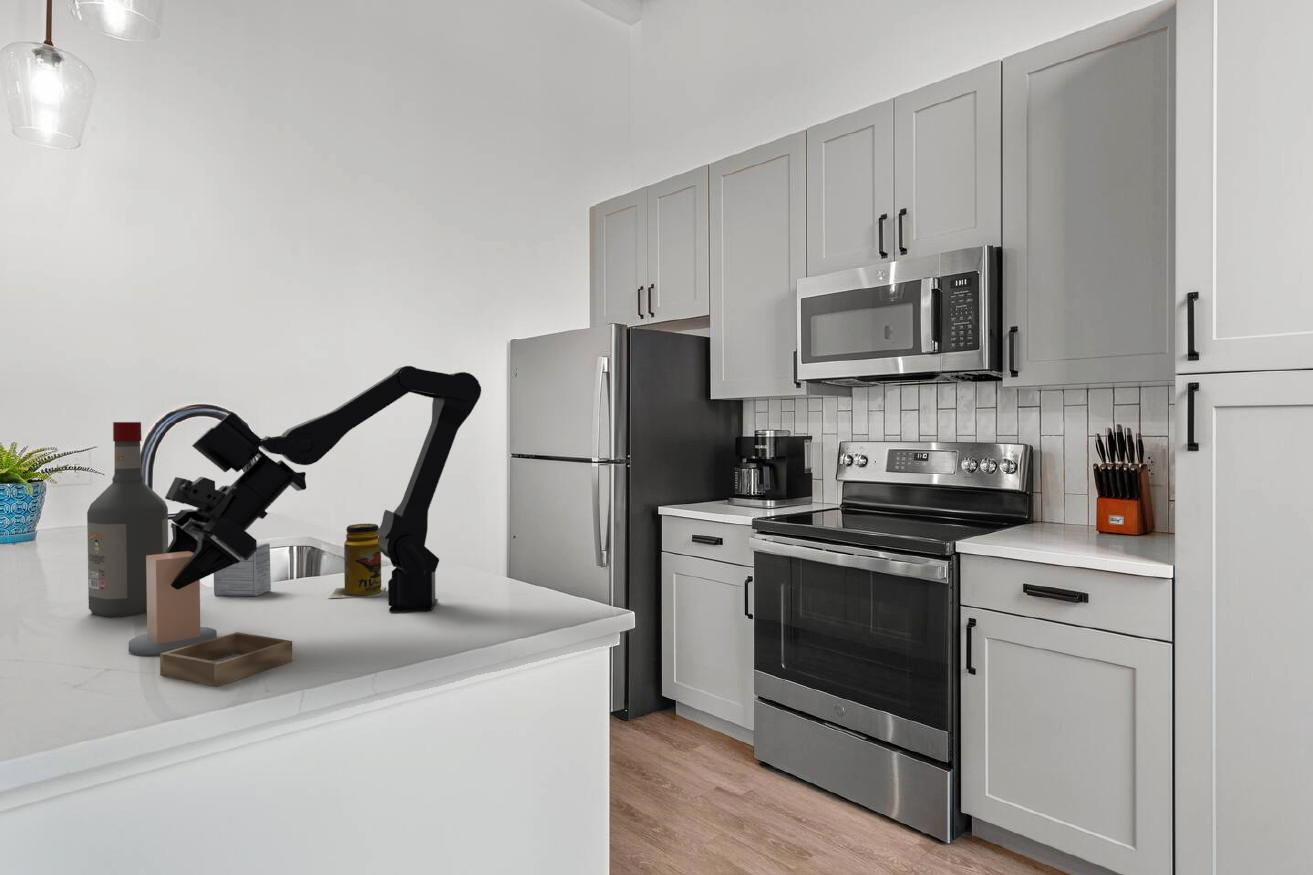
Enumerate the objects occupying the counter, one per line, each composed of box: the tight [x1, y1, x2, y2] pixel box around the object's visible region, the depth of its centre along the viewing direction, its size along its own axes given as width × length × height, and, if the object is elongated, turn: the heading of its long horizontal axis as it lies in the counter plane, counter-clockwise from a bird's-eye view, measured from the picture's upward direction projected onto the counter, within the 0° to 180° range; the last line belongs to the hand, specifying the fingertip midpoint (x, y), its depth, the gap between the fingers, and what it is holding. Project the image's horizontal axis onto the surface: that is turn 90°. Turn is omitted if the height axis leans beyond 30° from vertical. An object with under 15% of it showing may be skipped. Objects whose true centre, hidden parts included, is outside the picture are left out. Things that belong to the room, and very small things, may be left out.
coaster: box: [128, 626, 218, 656], centre depth 101 cm, size 10×10×1 cm
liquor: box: [86, 421, 169, 618], centre depth 120 cm, size 9×9×30 cm
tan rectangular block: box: [146, 551, 201, 644], centre depth 101 cm, size 5×5×11 cm
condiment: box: [328, 523, 386, 599], centre depth 132 cm, size 7×8×12 cm
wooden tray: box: [159, 631, 293, 687], centre depth 92 cm, size 10×10×2 cm
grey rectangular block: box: [213, 542, 272, 597], centre depth 132 cm, size 8×4×9 cm, turn 84°
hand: (164, 582), depth 100 cm, fingers open, 9 cm apart
